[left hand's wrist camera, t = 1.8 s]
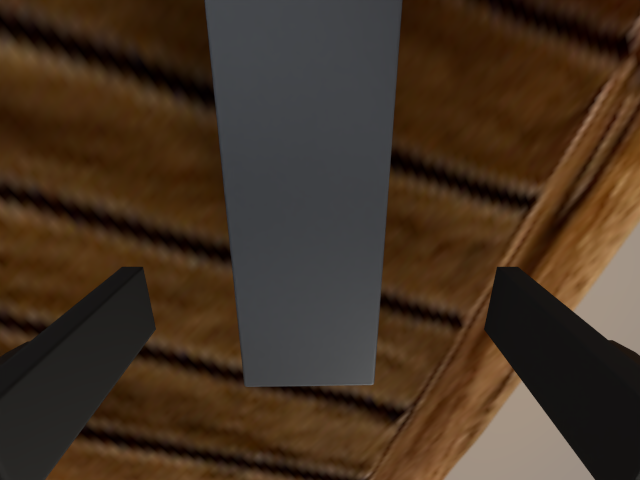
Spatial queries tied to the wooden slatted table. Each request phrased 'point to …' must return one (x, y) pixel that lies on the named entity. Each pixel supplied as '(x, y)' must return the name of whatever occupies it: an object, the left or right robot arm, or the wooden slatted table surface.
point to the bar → (306, 179)
